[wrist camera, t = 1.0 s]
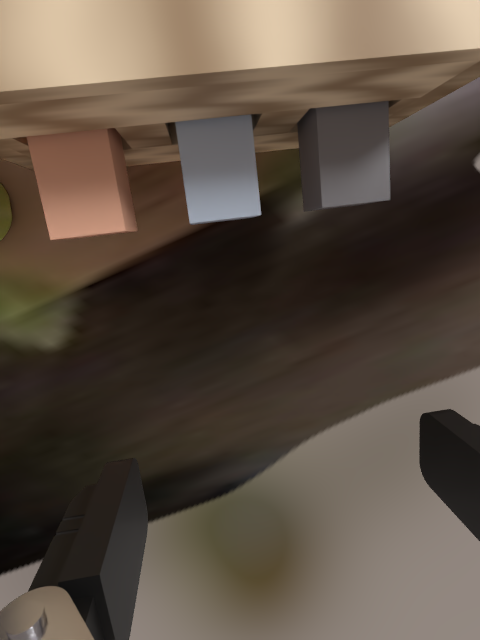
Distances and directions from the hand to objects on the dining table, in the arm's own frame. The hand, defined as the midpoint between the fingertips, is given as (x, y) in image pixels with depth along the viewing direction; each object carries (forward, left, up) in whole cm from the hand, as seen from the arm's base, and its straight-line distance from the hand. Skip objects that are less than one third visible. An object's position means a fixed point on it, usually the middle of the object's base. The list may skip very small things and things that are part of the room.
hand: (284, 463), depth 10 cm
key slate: (+3, -10, -16) cm, 19 cm away
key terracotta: (+10, -8, -16) cm, 21 cm away
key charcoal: (-5, -12, -16) cm, 21 cm away
